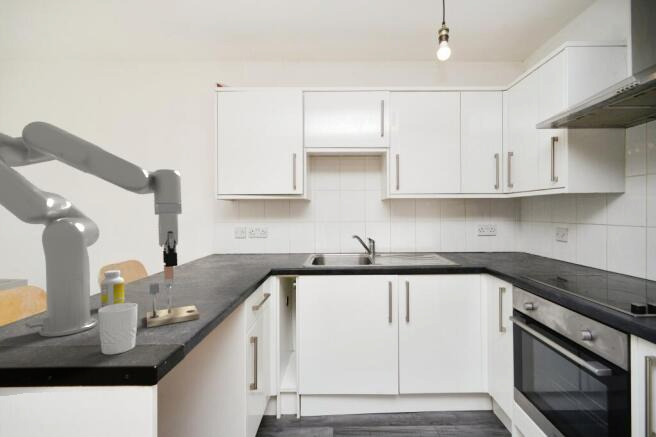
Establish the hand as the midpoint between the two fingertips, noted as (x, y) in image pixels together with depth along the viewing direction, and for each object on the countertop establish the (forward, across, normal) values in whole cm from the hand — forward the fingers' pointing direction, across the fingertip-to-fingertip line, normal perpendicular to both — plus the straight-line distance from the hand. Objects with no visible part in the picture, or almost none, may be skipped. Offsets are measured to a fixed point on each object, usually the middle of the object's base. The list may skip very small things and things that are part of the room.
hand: (170, 264), depth 97 cm
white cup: (+17, +19, -13) cm, 28 cm away
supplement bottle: (+17, -24, -17) cm, 34 cm away
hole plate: (+17, 0, 0) cm, 17 cm away
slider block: (+15, 0, -1) cm, 15 cm away
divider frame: (+15, +1, +1) cm, 15 cm away
